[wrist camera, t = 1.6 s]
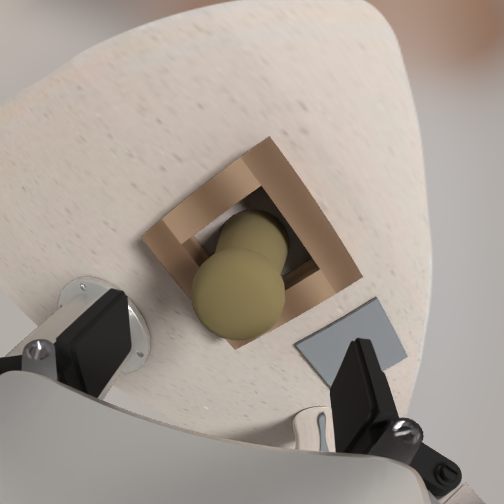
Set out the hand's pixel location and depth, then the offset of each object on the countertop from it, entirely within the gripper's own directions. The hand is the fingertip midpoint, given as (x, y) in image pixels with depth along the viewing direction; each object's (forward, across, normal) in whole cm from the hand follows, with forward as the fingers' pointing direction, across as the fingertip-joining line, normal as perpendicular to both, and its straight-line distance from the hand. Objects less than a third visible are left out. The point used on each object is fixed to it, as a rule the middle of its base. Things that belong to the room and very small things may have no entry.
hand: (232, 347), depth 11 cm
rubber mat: (+14, -11, +10) cm, 21 cm away
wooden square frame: (+14, +1, +1) cm, 14 cm away
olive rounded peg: (+14, +1, +1) cm, 15 cm away
